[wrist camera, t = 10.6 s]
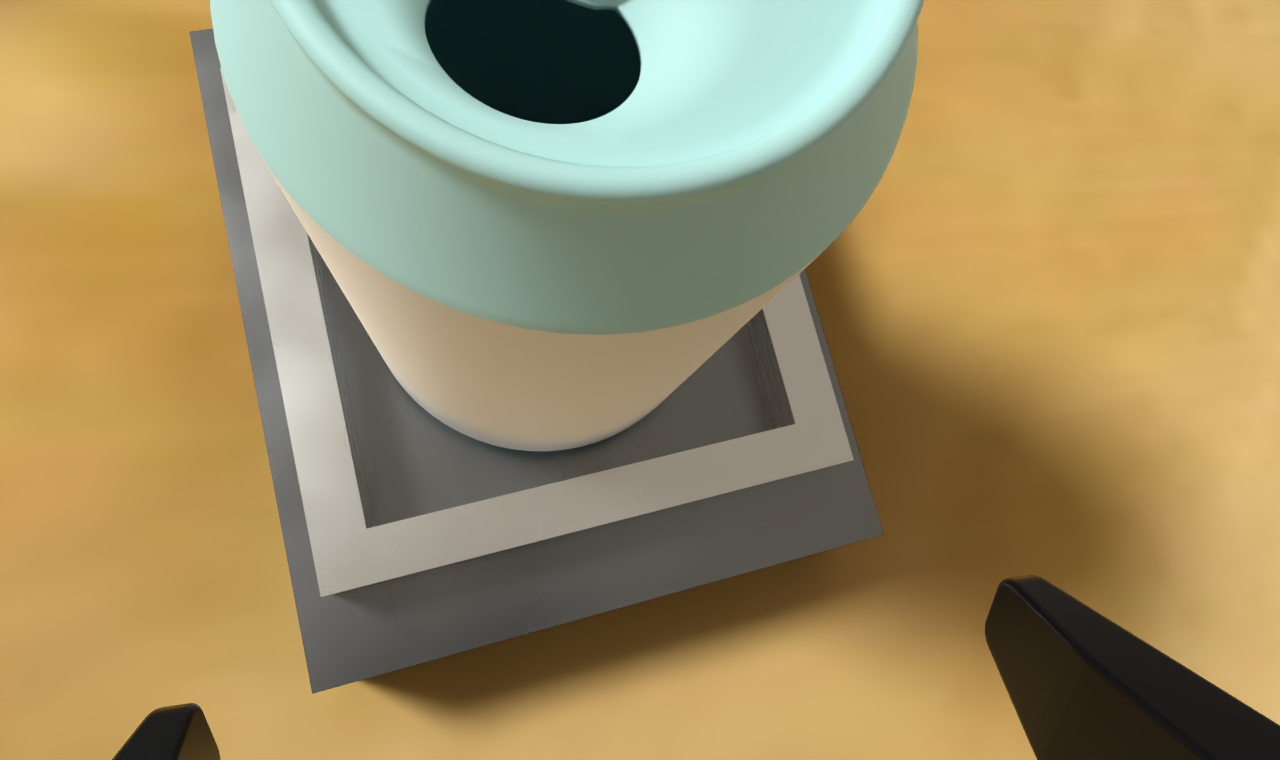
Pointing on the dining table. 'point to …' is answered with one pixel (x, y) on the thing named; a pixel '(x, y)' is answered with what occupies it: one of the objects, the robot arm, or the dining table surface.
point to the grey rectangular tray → (511, 463)
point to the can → (566, 180)
